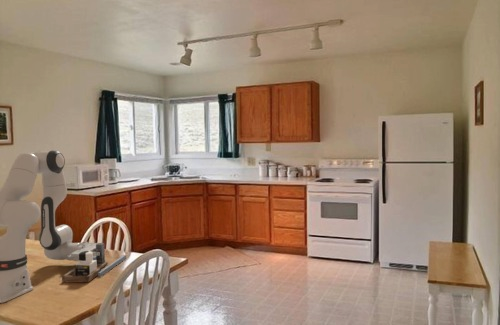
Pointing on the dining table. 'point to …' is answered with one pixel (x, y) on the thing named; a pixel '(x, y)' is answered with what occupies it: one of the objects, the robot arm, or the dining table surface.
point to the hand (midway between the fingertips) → (102, 252)
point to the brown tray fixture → (100, 264)
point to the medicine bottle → (85, 264)
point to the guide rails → (109, 265)
